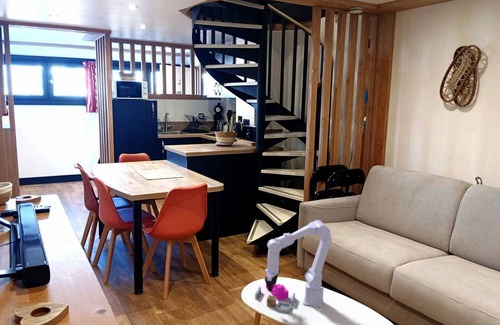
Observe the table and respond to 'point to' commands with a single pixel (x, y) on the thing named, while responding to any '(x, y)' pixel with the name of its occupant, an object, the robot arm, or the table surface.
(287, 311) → the jig
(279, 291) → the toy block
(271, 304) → the walnut cube
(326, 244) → the robot arm
